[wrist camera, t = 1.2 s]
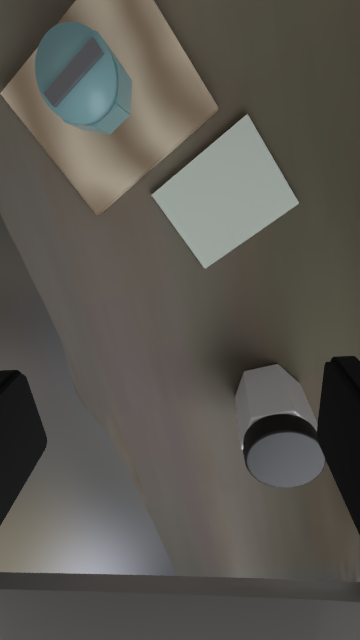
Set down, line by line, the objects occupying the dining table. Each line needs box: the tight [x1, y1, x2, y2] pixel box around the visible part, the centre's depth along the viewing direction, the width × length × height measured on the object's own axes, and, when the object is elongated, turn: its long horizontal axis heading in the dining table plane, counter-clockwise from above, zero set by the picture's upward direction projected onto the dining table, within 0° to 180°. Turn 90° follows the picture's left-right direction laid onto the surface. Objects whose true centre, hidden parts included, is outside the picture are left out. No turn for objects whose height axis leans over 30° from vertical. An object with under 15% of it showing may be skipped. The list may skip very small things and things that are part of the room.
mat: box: [152, 114, 299, 269], centre depth 33 cm, size 12×10×1 cm
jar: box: [235, 364, 326, 488], centre depth 37 cm, size 9×8×12 cm
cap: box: [35, 22, 132, 134], centre depth 25 cm, size 6×6×6 cm
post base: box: [0, 0, 218, 215], centre depth 27 cm, size 16×14×8 cm
